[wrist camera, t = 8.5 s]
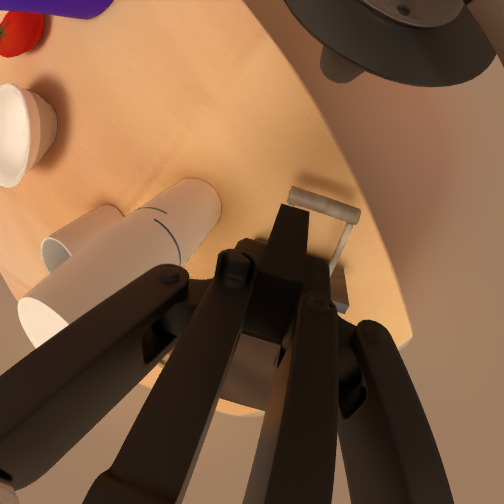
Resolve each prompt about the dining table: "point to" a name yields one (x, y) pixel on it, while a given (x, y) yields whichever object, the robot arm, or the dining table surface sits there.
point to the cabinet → (251, 371)
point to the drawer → (351, 217)
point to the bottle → (58, 7)
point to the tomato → (19, 32)
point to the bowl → (23, 132)
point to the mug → (77, 235)
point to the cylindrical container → (121, 257)
